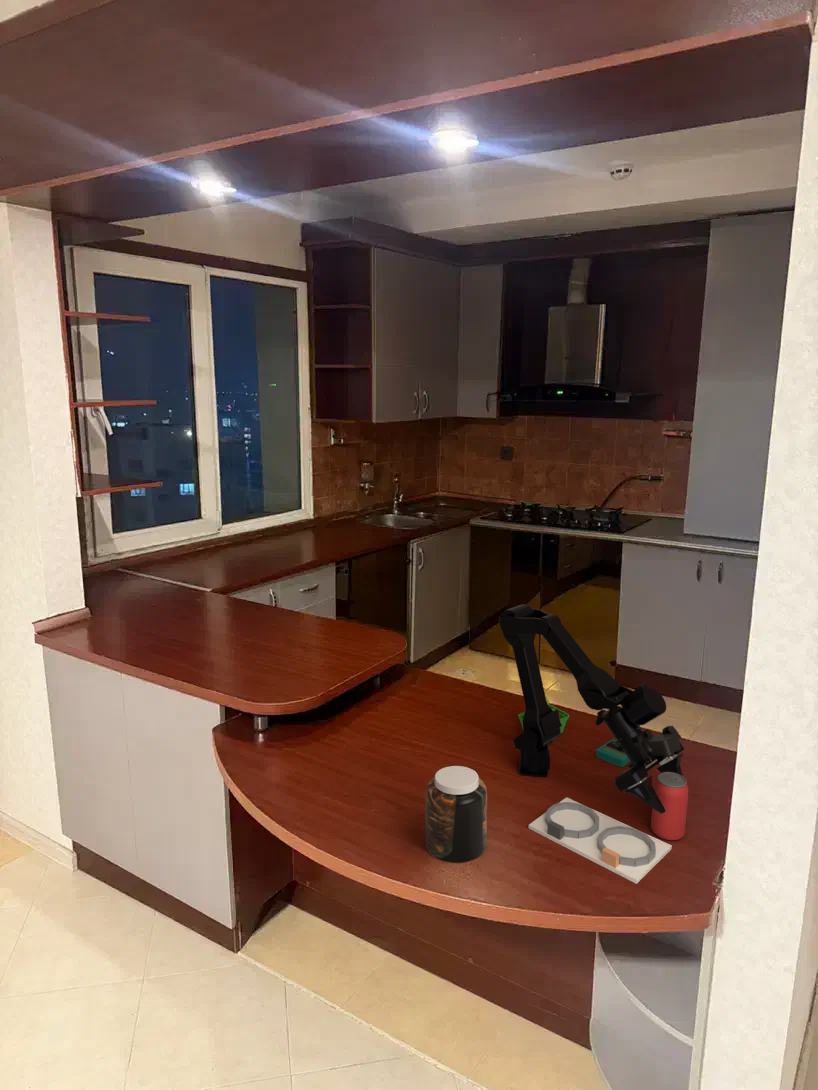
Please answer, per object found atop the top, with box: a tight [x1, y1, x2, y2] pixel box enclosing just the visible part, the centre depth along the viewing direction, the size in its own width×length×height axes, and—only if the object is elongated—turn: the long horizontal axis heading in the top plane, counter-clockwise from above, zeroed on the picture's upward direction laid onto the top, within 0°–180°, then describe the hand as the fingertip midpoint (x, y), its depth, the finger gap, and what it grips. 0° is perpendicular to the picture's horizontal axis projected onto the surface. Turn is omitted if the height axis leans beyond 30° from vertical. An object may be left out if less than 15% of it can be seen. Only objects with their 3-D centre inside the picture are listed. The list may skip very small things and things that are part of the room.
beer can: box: [650, 772, 689, 841], centre depth 149 cm, size 7×7×12 cm
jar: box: [425, 765, 488, 864], centre depth 145 cm, size 12×12×15 cm
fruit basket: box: [517, 695, 570, 734], centre depth 191 cm, size 11×9×11 cm
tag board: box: [528, 797, 673, 885], centre depth 148 cm, size 24×14×3 cm, turn 45°
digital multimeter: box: [595, 737, 631, 768], centre depth 182 cm, size 7×15×3 cm, turn 135°
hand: (675, 803), depth 148 cm, fingers open, 9 cm apart
